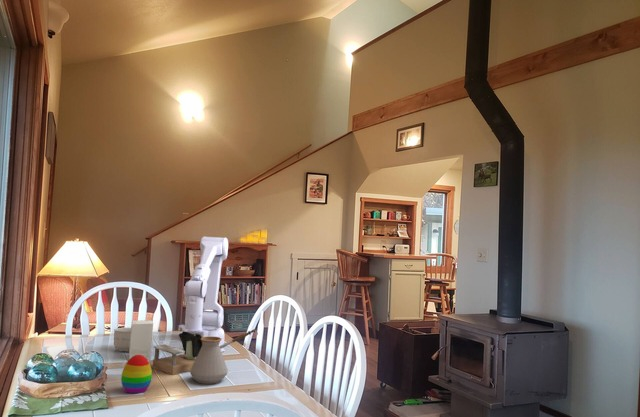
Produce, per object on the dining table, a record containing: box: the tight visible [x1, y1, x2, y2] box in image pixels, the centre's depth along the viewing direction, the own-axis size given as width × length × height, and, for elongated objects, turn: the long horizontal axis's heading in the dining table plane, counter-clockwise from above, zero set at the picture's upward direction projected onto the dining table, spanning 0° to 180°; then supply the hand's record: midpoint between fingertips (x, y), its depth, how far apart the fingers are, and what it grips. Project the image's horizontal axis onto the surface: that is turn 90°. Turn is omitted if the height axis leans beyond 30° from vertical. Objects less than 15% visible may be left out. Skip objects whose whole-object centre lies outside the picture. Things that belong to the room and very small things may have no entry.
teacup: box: [113, 327, 131, 352], centre depth 184 cm, size 14×11×8 cm
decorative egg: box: [120, 355, 153, 394], centre depth 139 cm, size 8×8×10 cm
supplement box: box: [128, 319, 154, 361], centre depth 175 cm, size 7×7×13 cm
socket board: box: [151, 344, 197, 376], centre depth 166 cm, size 18×12×7 cm, turn 140°
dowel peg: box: [186, 341, 196, 360], centre depth 167 cm, size 3×3×8 cm
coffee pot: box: [189, 328, 259, 385], centre depth 155 cm, size 21×12×15 cm, turn 121°
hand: (191, 355), depth 168 cm, fingers open, 4 cm apart
